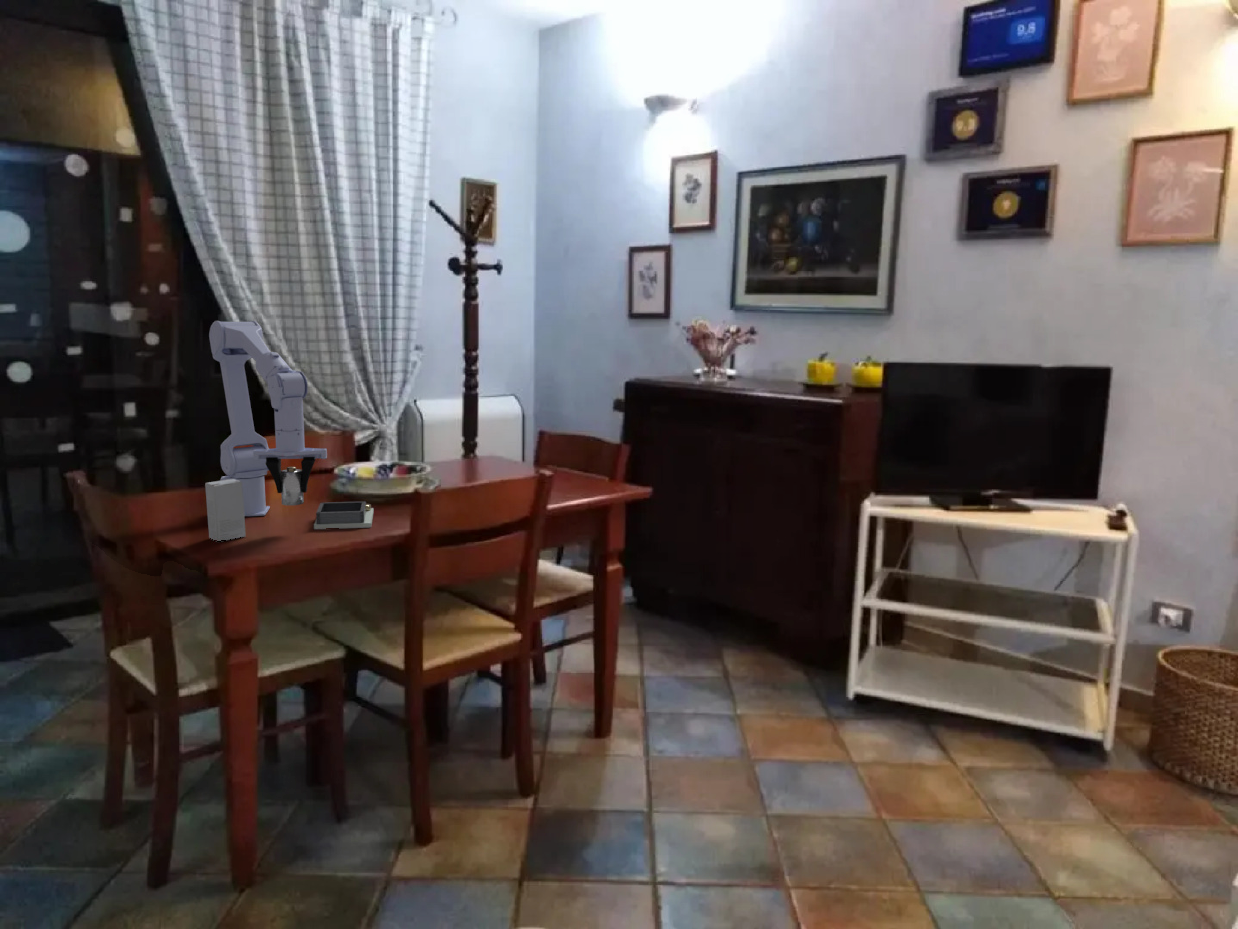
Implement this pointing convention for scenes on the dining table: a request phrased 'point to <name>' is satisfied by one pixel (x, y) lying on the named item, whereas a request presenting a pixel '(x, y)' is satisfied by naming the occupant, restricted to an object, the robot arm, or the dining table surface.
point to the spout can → (291, 486)
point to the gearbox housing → (344, 515)
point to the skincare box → (225, 509)
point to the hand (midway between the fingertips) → (292, 492)
